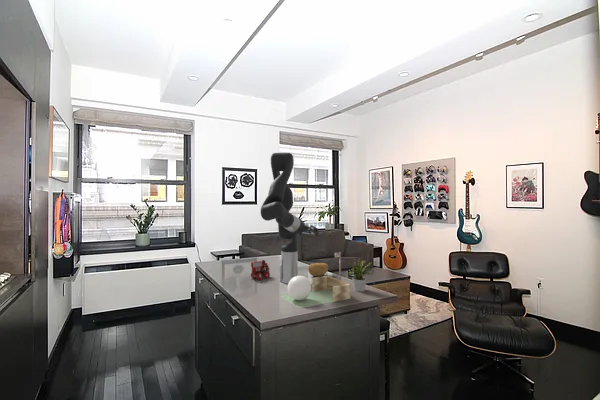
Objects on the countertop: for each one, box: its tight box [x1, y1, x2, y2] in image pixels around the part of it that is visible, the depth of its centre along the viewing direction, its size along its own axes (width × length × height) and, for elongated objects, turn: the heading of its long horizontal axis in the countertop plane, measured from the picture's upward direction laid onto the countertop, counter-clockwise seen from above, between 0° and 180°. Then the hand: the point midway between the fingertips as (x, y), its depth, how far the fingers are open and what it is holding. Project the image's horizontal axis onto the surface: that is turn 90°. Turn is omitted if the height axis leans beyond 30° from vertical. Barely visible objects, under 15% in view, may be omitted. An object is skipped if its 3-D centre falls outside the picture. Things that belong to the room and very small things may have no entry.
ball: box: [287, 275, 312, 301], centre depth 147 cm, size 11×11×11 cm
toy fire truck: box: [250, 259, 271, 281], centre depth 189 cm, size 7×12×10 cm, turn 132°
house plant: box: [348, 258, 372, 292], centre depth 162 cm, size 14×14×16 cm
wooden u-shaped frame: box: [311, 251, 351, 303], centre depth 155 cm, size 11×19×20 cm, turn 29°
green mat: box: [279, 289, 352, 309], centre depth 151 cm, size 28×20×1 cm
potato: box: [307, 262, 329, 277], centre depth 194 cm, size 10×14×8 cm
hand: (310, 234), depth 163 cm, fingers open, 8 cm apart
